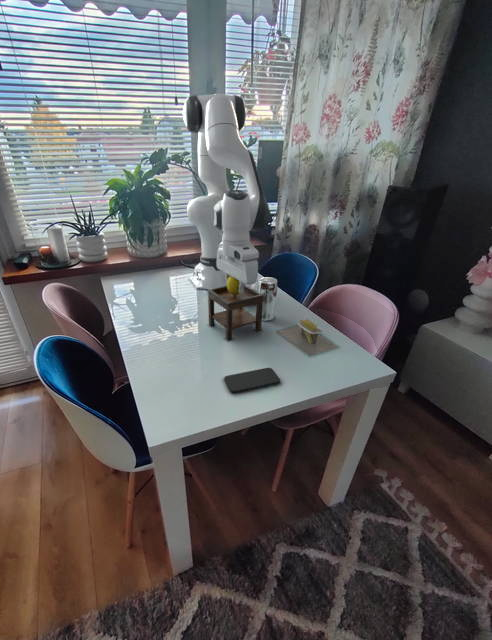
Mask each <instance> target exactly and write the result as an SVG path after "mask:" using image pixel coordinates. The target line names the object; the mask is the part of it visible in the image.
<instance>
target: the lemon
mask: <svg viewBox="0 0 492 640" xmlns="http://www.w3.org/2000/svg"><path fill="white" fill-rule="evenodd" d="M239 285H240V283H239V280H237V279H235V278H234V277H232V276H230V277H229V279H228V282H227V289H228V291H229V293H230V294H232V295H234V296H236V295H238V294H240V293H239V292H238V291H237V290H238V289H237V287H239Z"/></svg>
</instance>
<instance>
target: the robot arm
mask: <svg viewBox="0 0 492 640" xmlns="http://www.w3.org/2000/svg"><path fill="white" fill-rule="evenodd" d="M182 117H183V119H182V120H183V123H184V124H185V127H186V129H187V130H188V132H190V133H193V134H198V135H197V136H198V137H197V167H198V172H197V173H198V178H199V180H200V181H201V183H203V184H204V185H205V187H206V191H207V195H202V196H200V195H199V196H198V197H195V198H193V199H191V200H190V201H189V202H188V204H187V205H186V206H187V207H186V215H187V218H188V220H189V222H190V224H193V226H194V227H196V229H197V231H198V234H199V237H200V243H201V244H200V245H201V247H200V248H201V254H200V255H199V257H200V260H199V263H198V264H197V265H196V266H195V265H190V264H187V263H184V261H183V259H182V260H181V261H180V263H181V264H182V265H183V266H185V267H187V268H193V271H192V275H191V276H189V280H190V281H191V283H192V284H193V285H194V287H195V288H196V289H198V290H209V289H214V288H218V287H223V286H227V282H228V279H229V277H230V276H232V277H234V278H235V279H237V280H239V283H240V285H239V287H237V289H238V290H237V291H238V292H239V293H243V292H244V287H245V285H246V286H249V285H253V284H254V283H255V282H256V281H257V280H258V276H259V275H258V274H259V261H258V259H259V257H260V253H259V250H258V249H257V248H255V246H254V245H253V243H252V242H251V235H250V232H261V231H262V230H264V229H265V228H266V227H267V226H268V224H269V223H270V218H271V215H270V213H271V212H270V207H269V204H268V201H267V198H266V197H265V193H264V191H263V186H262V183H261V179H260V175H259V171H258V167H257V165H256V161H255V158H254V155H253V152H252V151H251V149H249V148H248V147H246V145H245V144H244V143H243V140H242V139H241V135H240V131H241V130H242V129H243V128H244V127H245V122H246V119H247V109H246V103H245V100H244V98H243V97H242V96H240V95H237V94H232V95H229V94H223V93H214V94H202V95H201V94H200V95H197V94H193V95H189V96H188V97H186V99H185V100H184V106H183V108H182ZM227 169H228V170H231V171H233V172H236V173H237V174H239V175H240V176H241V177H242V178H243V180H244V183H245V187H246V191H245V190H241V189H230V187H229V184H228V179H227Z"/></svg>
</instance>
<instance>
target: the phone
mask: <svg viewBox="0 0 492 640" xmlns="http://www.w3.org/2000/svg"><path fill="white" fill-rule="evenodd" d="M223 381H224V382H225V385H226V386H227V389H228V391H229V392H230V393H233V394H236V393H240V392H246V391H250V390H254V389H259V388H264V387H268V386H269V387H270V386H274V385H278V384H280V383H281V379H280V377H279V376H278V374H277V373H276V372H275V370H274V369H273V368H272V367H264V368H258V369H254V370H248V371H244V372H239V373H234V374H228V375H226V376H224V378H223Z"/></svg>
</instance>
